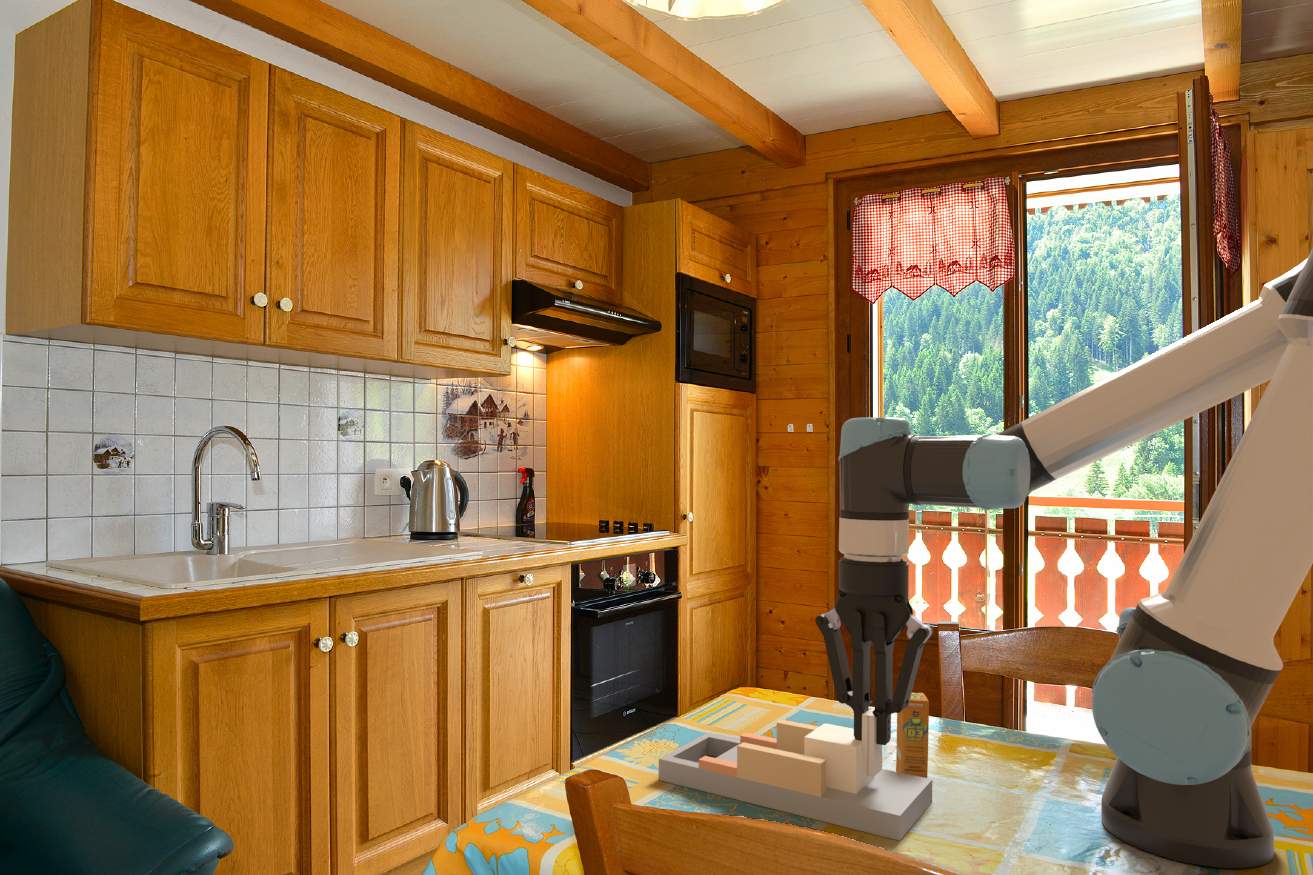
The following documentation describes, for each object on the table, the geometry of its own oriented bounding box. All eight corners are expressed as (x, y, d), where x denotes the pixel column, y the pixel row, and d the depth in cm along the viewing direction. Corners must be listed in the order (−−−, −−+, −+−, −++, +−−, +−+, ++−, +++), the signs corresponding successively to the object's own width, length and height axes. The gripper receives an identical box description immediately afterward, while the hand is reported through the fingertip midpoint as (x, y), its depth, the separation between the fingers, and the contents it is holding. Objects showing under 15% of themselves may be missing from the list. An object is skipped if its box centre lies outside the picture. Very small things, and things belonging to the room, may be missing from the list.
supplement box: (900, 782, 101) (900, 698, 102) (895, 772, 105) (895, 690, 105) (929, 784, 101) (929, 699, 101) (923, 773, 105) (923, 691, 105)
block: (874, 776, 96) (874, 732, 97) (856, 793, 91) (856, 747, 92) (824, 766, 100) (824, 723, 100) (804, 782, 95) (804, 736, 95)
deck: (932, 801, 96) (932, 747, 96) (900, 840, 86) (900, 780, 86) (707, 751, 112) (708, 705, 112) (658, 779, 102) (659, 729, 102)
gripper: (941, 558, 94) (940, 773, 93) (830, 550, 101) (828, 750, 100) (922, 564, 88) (921, 796, 87) (805, 555, 95) (803, 769, 94)
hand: (871, 771), depth 94 cm, fingers closed
